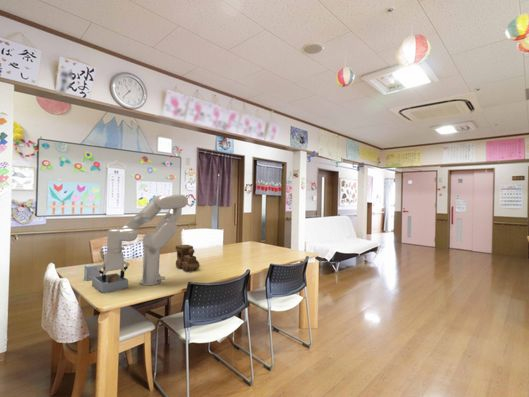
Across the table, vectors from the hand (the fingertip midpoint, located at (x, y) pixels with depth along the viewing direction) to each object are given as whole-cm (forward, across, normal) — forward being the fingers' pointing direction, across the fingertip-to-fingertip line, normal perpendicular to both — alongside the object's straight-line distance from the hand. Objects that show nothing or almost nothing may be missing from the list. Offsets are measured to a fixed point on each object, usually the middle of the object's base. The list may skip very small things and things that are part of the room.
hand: (113, 279), depth 160 cm
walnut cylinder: (+5, 0, 0) cm, 5 cm away
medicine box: (+6, +3, -27) cm, 28 cm away
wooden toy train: (+6, -56, -11) cm, 57 cm away
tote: (+5, 0, -5) cm, 7 cm away
